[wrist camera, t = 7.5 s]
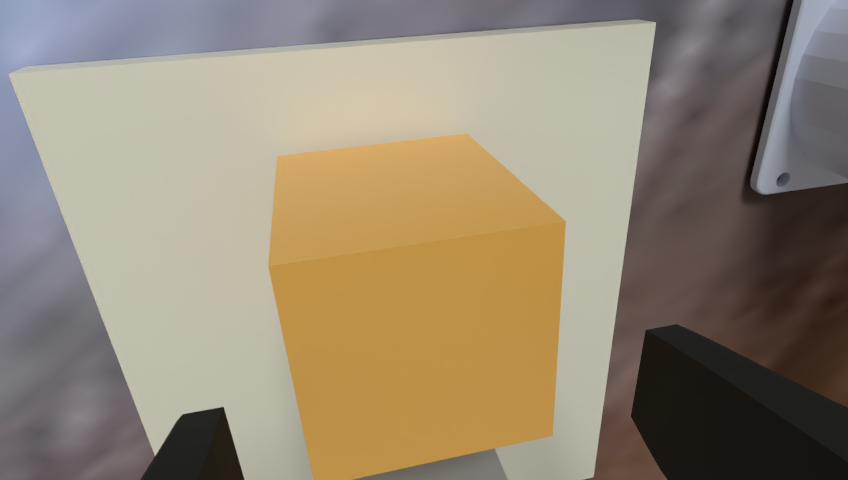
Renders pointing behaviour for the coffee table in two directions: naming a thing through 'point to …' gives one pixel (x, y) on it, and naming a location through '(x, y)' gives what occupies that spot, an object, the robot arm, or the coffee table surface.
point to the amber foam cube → (414, 303)
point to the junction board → (254, 194)
